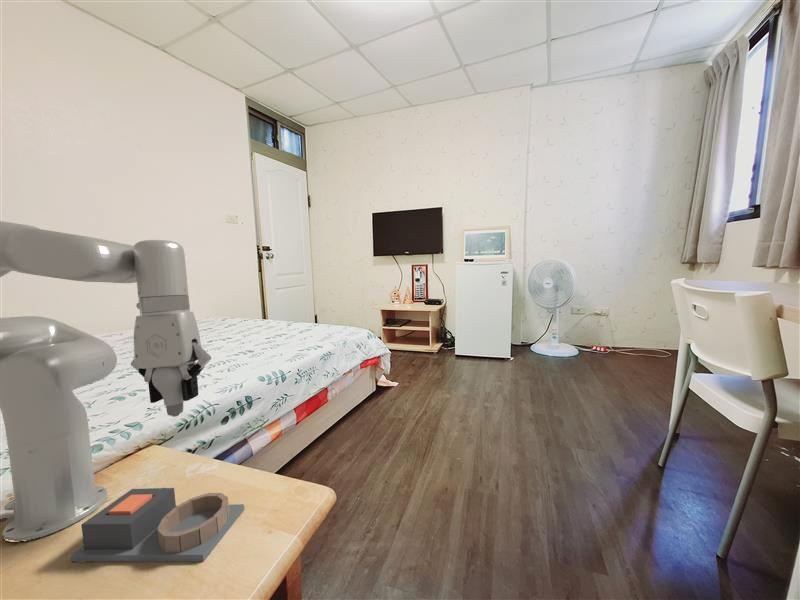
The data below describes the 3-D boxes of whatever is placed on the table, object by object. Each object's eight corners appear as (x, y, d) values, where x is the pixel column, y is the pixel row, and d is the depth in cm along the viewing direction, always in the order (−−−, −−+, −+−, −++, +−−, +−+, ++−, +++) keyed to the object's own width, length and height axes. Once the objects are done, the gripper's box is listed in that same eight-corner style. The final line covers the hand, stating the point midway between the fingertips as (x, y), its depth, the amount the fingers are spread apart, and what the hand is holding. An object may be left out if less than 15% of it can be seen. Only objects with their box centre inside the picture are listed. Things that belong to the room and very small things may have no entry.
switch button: (110, 535, 47) (108, 511, 47) (133, 517, 51) (131, 494, 51) (133, 535, 47) (130, 511, 47) (154, 516, 51) (152, 494, 50)
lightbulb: (174, 423, 54) (169, 364, 53) (146, 422, 55) (141, 364, 54) (202, 410, 60) (198, 356, 59) (177, 409, 61) (172, 356, 60)
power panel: (71, 562, 44) (67, 529, 44) (135, 511, 54) (132, 485, 54) (203, 561, 43) (200, 528, 43) (244, 509, 53) (241, 482, 53)
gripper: (102, 311, 53) (113, 409, 54) (194, 304, 52) (204, 404, 53) (140, 308, 60) (150, 394, 61) (221, 302, 60) (230, 390, 60)
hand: (175, 398), depth 57 cm, fingers closed on lightbulb, 5 cm apart
